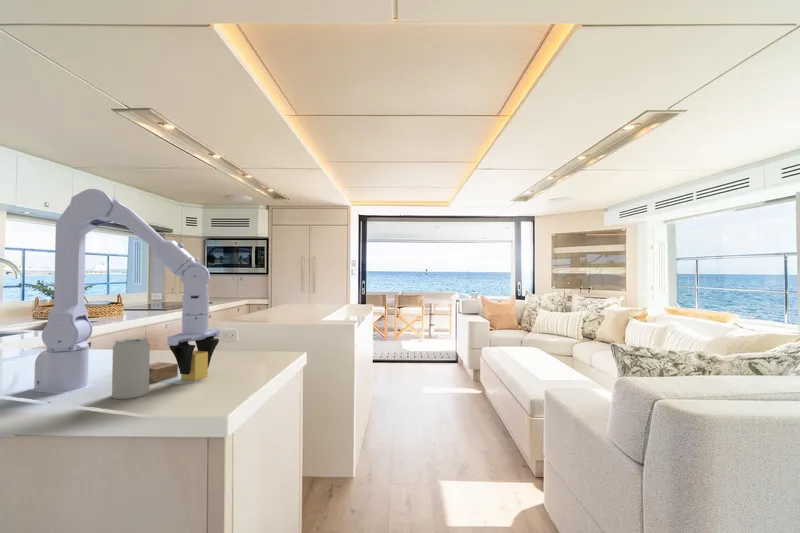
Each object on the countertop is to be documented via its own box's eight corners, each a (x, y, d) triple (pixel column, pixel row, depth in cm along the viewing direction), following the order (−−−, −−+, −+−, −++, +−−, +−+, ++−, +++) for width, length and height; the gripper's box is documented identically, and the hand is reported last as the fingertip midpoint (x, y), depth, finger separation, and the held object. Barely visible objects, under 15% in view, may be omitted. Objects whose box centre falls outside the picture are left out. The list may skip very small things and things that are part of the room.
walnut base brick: (136, 380, 96) (136, 367, 96) (157, 374, 102) (158, 362, 102) (156, 382, 94) (157, 369, 94) (177, 376, 100) (177, 363, 100)
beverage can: (121, 404, 80) (122, 342, 81) (105, 398, 84) (107, 339, 84) (154, 396, 86) (156, 338, 86) (139, 391, 89) (140, 335, 89)
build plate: (141, 382, 96) (141, 380, 96) (169, 374, 104) (169, 372, 104) (183, 386, 93) (183, 384, 93) (209, 378, 101) (209, 375, 101)
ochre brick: (181, 379, 97) (181, 353, 98) (194, 375, 101) (194, 350, 101) (195, 380, 96) (195, 354, 96) (207, 376, 100) (207, 351, 100)
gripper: (185, 317, 91) (184, 379, 91) (230, 312, 105) (229, 365, 105) (160, 316, 93) (159, 377, 93) (207, 311, 107) (206, 363, 107)
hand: (194, 371), depth 99 cm, fingers open, 5 cm apart
